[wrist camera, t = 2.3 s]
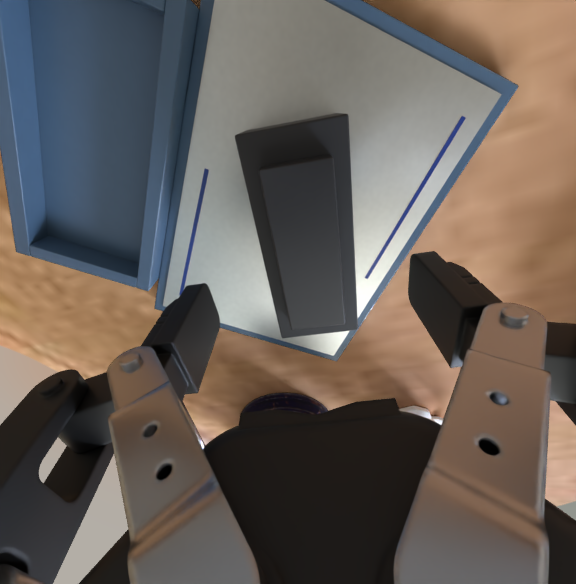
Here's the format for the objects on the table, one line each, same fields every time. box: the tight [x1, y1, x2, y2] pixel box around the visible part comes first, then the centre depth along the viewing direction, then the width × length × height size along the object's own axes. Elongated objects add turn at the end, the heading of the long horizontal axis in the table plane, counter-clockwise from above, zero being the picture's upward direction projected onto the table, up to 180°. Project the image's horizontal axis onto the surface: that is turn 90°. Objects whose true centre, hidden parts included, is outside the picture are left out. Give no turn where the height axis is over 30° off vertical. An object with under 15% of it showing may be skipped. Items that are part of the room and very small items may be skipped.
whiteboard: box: [155, 0, 518, 361], centre depth 18 cm, size 20×15×1 cm
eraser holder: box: [0, 0, 199, 291], centre depth 15 cm, size 15×8×3 cm, turn 159°
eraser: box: [235, 113, 358, 338], centre depth 15 cm, size 11×5×5 cm, turn 9°
